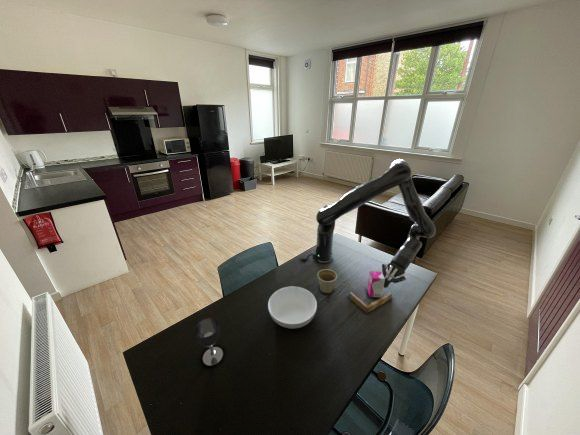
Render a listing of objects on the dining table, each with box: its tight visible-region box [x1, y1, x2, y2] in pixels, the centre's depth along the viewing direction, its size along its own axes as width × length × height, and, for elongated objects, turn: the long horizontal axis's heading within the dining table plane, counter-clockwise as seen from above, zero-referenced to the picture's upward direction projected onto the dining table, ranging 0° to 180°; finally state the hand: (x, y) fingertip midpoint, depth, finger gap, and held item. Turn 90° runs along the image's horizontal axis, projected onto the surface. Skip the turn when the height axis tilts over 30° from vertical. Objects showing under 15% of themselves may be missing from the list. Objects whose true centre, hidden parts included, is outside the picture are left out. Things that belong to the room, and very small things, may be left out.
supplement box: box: [366, 270, 385, 299], centre depth 113 cm, size 6×6×12 cm
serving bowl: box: [267, 285, 318, 330], centre depth 103 cm, size 21×21×7 cm
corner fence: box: [348, 292, 393, 314], centre depth 112 cm, size 16×11×3 cm, turn 121°
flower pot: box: [317, 268, 338, 294], centre depth 117 cm, size 9×9×9 cm
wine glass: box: [193, 317, 224, 367], centre depth 84 cm, size 8×8×15 cm
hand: (383, 286), depth 114 cm, fingers closed
